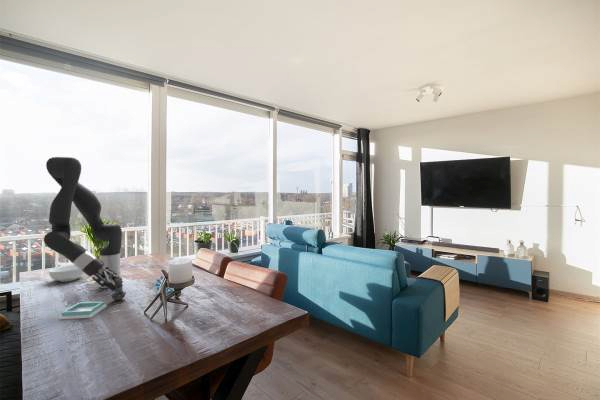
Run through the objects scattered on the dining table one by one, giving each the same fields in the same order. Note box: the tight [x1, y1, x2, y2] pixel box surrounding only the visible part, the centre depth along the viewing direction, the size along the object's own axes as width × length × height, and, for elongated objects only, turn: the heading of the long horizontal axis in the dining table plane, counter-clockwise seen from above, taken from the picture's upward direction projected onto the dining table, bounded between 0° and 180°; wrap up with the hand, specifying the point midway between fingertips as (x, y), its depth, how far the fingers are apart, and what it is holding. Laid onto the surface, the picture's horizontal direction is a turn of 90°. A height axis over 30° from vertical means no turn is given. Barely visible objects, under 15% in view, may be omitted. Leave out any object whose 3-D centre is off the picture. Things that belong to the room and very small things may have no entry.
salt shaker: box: [110, 276, 127, 305], centre depth 131 cm, size 6×6×12 cm
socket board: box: [58, 301, 108, 320], centre depth 119 cm, size 12×12×2 cm
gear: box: [155, 276, 174, 293], centre depth 146 cm, size 11×6×10 cm
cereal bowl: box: [48, 264, 86, 283], centre depth 165 cm, size 17×17×7 cm
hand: (118, 286), depth 131 cm, fingers open, 8 cm apart
